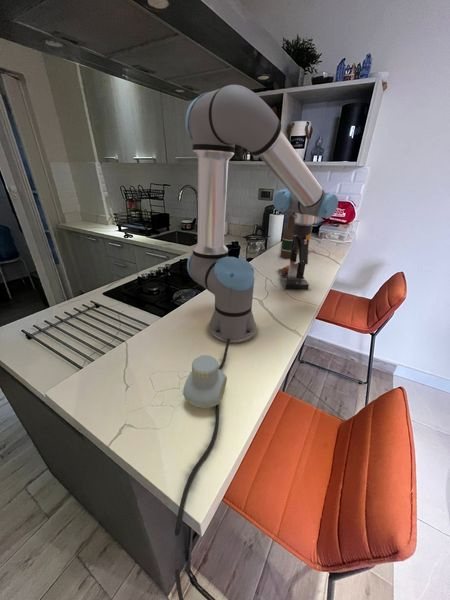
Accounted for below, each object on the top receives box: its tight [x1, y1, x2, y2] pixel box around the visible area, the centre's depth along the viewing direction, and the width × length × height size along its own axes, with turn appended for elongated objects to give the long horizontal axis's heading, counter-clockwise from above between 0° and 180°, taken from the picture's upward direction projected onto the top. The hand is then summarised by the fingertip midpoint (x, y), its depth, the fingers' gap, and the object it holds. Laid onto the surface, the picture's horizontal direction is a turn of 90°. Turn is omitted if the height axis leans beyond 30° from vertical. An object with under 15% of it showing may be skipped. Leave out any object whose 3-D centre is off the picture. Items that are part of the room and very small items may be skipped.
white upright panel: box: [287, 260, 302, 280], centre depth 114 cm, size 6×2×8 cm, turn 90°
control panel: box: [280, 274, 310, 291], centre depth 117 cm, size 11×10×3 cm
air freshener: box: [182, 354, 228, 409], centre depth 59 cm, size 11×8×10 cm
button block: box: [278, 266, 288, 276], centre depth 126 cm, size 10×8×3 cm
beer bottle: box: [280, 213, 295, 260], centre depth 145 cm, size 8×8×24 cm
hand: (295, 272), depth 114 cm, fingers open, 13 cm apart
